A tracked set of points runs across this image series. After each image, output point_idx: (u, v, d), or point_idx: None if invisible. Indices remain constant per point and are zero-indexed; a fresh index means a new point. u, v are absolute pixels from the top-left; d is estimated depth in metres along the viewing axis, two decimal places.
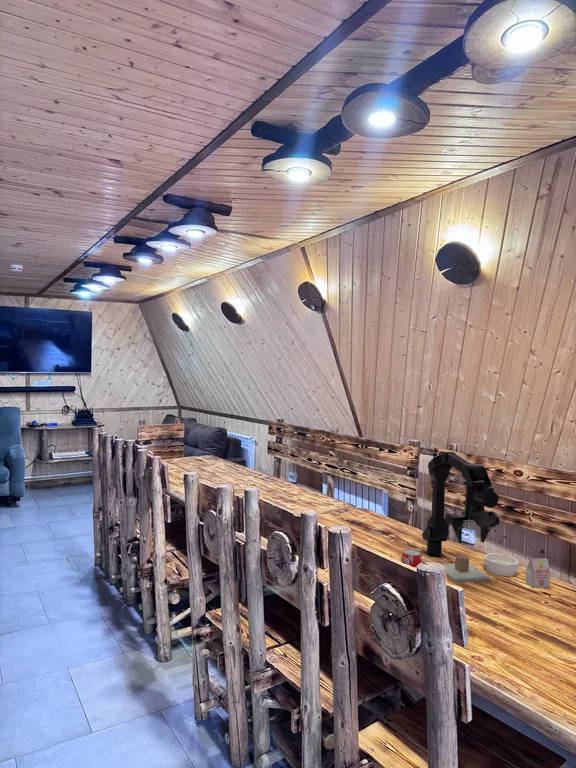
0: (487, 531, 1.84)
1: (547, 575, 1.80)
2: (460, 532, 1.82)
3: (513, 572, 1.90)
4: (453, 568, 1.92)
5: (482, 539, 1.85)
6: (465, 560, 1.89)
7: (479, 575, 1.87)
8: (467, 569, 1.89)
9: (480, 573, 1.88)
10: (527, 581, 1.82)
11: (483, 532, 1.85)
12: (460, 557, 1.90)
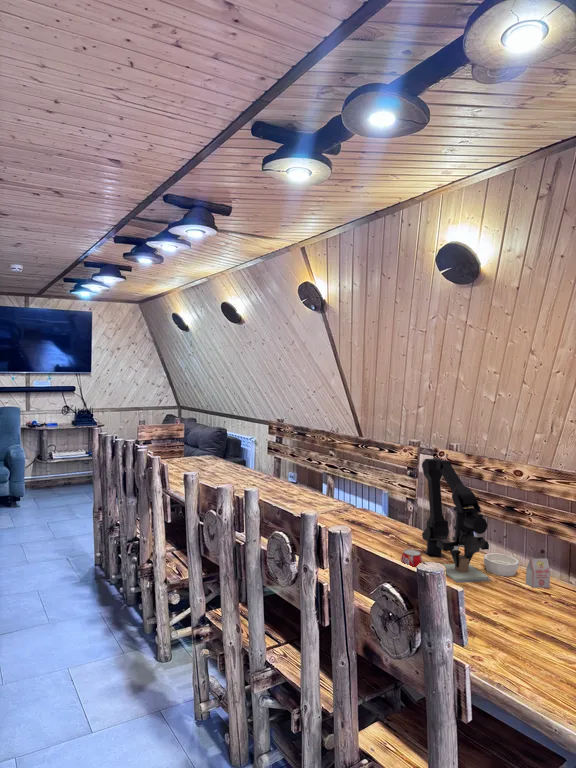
0: (470, 556, 1.90)
1: (547, 575, 1.80)
2: (457, 557, 1.89)
3: (513, 572, 1.90)
4: (453, 568, 1.92)
5: None
6: (465, 560, 1.89)
7: (479, 575, 1.87)
8: (467, 569, 1.89)
9: (480, 573, 1.88)
10: (527, 581, 1.82)
11: (467, 557, 1.91)
12: (460, 557, 1.90)
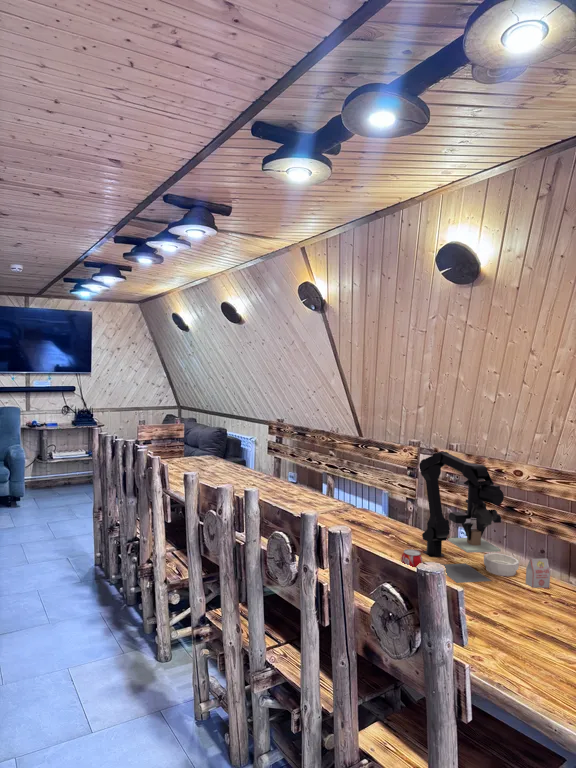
0: (483, 529, 1.91)
1: (547, 575, 1.80)
2: (469, 529, 1.90)
3: (513, 572, 1.90)
4: (465, 541, 1.93)
5: None
6: (477, 533, 1.90)
7: (492, 547, 1.87)
8: (479, 542, 1.90)
9: (492, 546, 1.89)
10: (527, 581, 1.82)
11: (479, 530, 1.92)
12: (472, 530, 1.91)
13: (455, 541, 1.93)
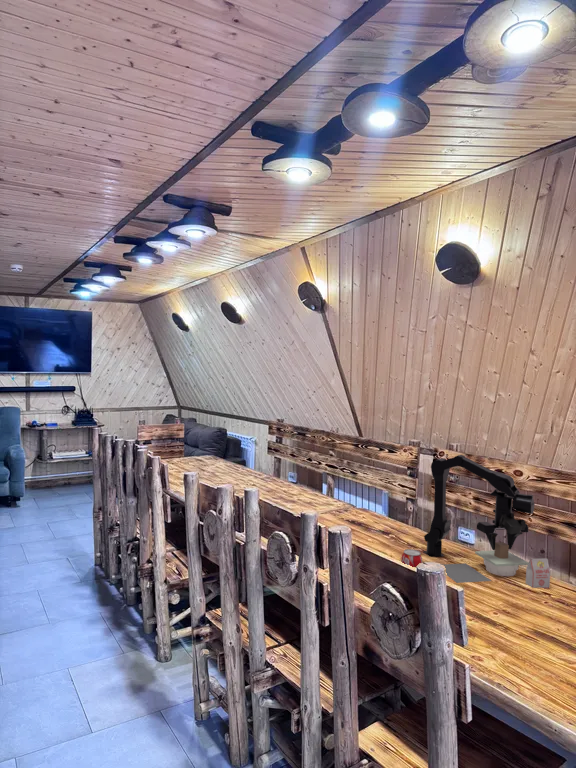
0: (514, 538, 1.94)
1: (547, 575, 1.80)
2: (494, 539, 1.92)
3: (513, 572, 1.90)
4: (492, 555, 1.96)
5: (509, 546, 1.95)
6: (505, 546, 1.92)
7: (519, 561, 1.90)
8: (507, 555, 1.93)
9: (520, 559, 1.92)
10: (527, 581, 1.82)
11: (510, 539, 1.95)
12: (500, 544, 1.94)
13: (482, 554, 1.96)
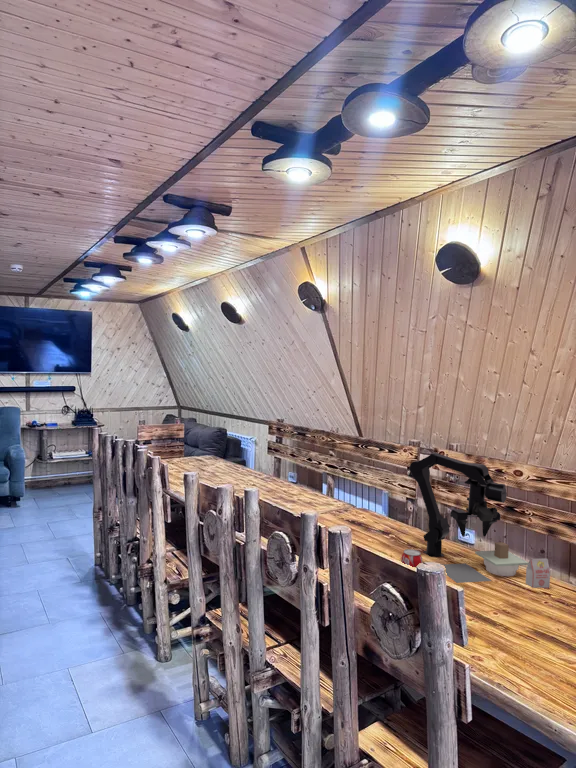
0: (489, 526, 1.99)
1: (547, 575, 1.80)
2: (464, 526, 1.97)
3: (513, 572, 1.90)
4: (492, 555, 1.96)
5: (484, 533, 2.00)
6: (505, 546, 1.92)
7: (519, 561, 1.90)
8: (507, 555, 1.93)
9: (520, 559, 1.92)
10: (527, 581, 1.82)
11: (485, 527, 2.00)
12: (500, 544, 1.94)
13: (482, 554, 1.96)
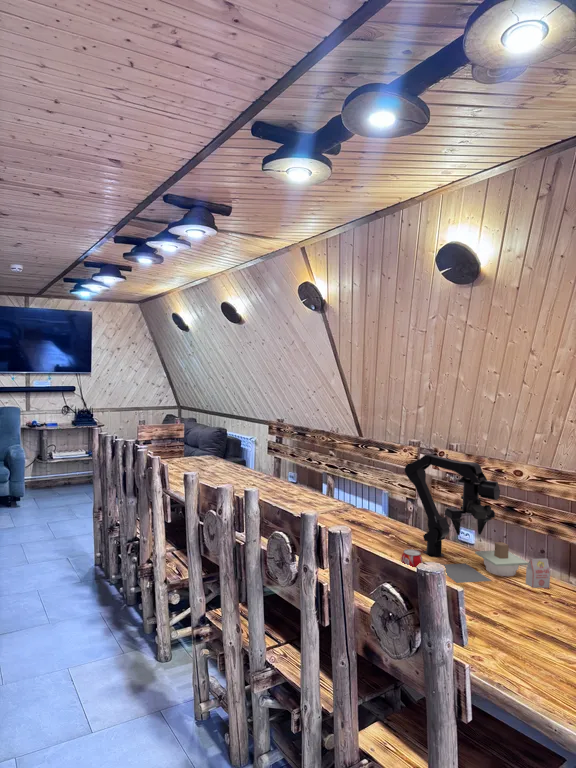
0: (483, 524, 2.00)
1: (547, 575, 1.80)
2: (458, 525, 1.97)
3: (513, 572, 1.90)
4: (492, 555, 1.96)
5: (479, 531, 2.01)
6: (505, 546, 1.92)
7: (519, 561, 1.90)
8: (507, 555, 1.93)
9: (520, 559, 1.92)
10: (527, 581, 1.82)
11: (480, 525, 2.01)
12: (500, 544, 1.94)
13: (482, 554, 1.96)
